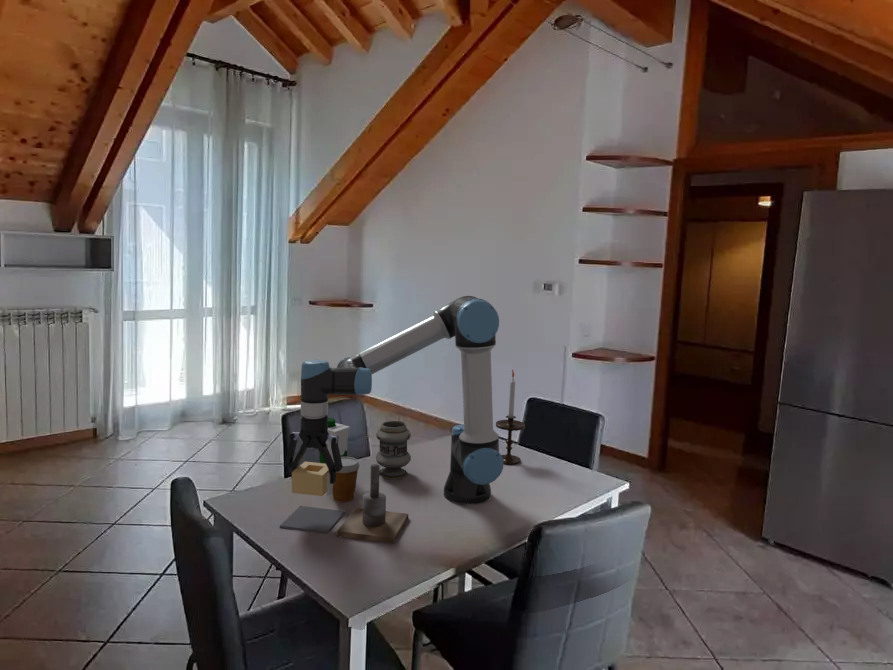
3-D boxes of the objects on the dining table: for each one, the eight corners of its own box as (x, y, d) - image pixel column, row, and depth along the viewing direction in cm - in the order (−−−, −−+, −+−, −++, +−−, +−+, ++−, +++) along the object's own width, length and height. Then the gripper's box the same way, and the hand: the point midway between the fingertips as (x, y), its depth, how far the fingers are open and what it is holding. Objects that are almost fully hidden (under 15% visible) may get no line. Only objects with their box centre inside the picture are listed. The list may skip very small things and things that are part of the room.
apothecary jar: (368, 472, 221) (369, 422, 219) (395, 465, 229) (397, 416, 227) (389, 482, 213) (390, 430, 210) (417, 474, 221) (418, 424, 218)
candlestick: (491, 456, 243) (496, 366, 238) (519, 456, 245) (524, 366, 240) (496, 465, 233) (501, 372, 228) (525, 465, 234) (531, 372, 229)
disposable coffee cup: (352, 506, 193) (353, 468, 191) (323, 502, 195) (323, 464, 193) (363, 494, 202) (363, 458, 200) (334, 490, 204) (335, 454, 202)
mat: (344, 512, 188) (345, 511, 188) (327, 533, 174) (327, 531, 174) (300, 507, 190) (300, 505, 190) (279, 527, 177) (279, 525, 177)
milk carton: (332, 471, 220) (332, 415, 218) (352, 477, 216) (353, 420, 213) (314, 479, 213) (314, 421, 210) (334, 485, 208) (335, 426, 206)
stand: (408, 518, 185) (410, 459, 183) (393, 543, 170) (395, 478, 167) (355, 512, 188) (356, 453, 186) (336, 536, 173) (337, 472, 170)
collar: (334, 484, 184) (334, 464, 184) (322, 496, 176) (322, 475, 175) (304, 481, 186) (304, 461, 185) (291, 492, 177) (292, 472, 176)
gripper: (355, 415, 180) (354, 491, 183) (283, 408, 183) (283, 483, 187) (346, 422, 172) (345, 501, 175) (272, 415, 176) (271, 492, 179)
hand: (313, 492), depth 181 cm, fingers closed on collar, 9 cm apart
